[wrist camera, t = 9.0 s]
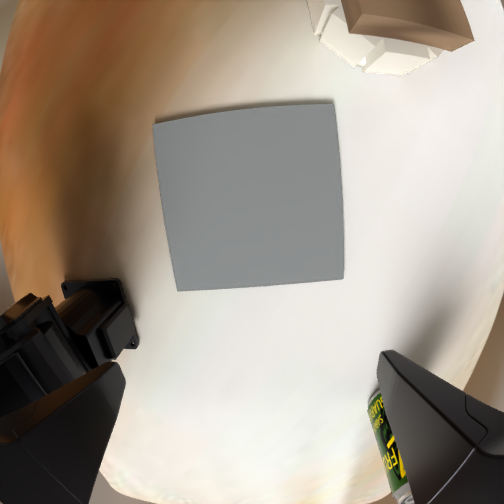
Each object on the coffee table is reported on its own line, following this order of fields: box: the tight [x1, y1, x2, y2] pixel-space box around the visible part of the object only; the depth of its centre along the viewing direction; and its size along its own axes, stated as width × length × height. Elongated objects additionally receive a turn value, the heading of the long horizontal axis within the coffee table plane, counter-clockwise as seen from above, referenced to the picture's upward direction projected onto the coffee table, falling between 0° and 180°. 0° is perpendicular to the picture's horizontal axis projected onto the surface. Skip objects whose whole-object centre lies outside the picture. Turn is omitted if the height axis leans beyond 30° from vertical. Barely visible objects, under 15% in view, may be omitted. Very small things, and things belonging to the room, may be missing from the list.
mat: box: [153, 104, 344, 291], centre depth 19 cm, size 12×12×1 cm
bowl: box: [307, 0, 444, 76], centre depth 12 cm, size 9×9×4 cm
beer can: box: [367, 389, 415, 504], centre depth 18 cm, size 5×5×12 cm
